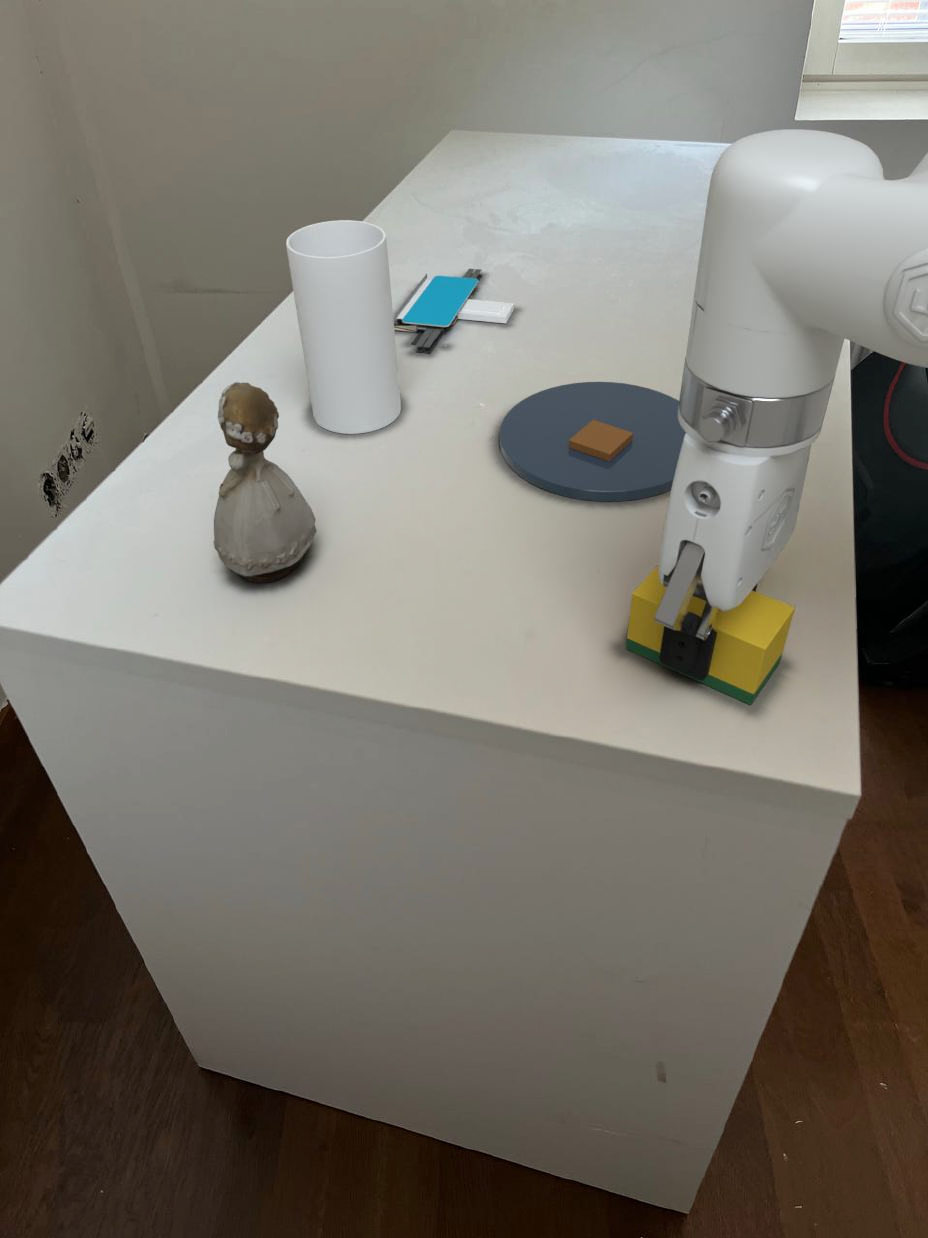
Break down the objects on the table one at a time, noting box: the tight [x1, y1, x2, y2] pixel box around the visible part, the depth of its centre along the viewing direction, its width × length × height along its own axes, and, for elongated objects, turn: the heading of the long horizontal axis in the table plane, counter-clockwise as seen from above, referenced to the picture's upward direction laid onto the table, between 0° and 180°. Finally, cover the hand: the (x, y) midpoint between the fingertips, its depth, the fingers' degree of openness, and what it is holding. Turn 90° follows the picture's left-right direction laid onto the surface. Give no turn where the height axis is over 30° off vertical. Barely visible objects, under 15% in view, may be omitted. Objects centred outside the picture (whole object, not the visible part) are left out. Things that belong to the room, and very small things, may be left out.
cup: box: [285, 219, 402, 435], centre depth 82 cm, size 8×8×16 cm
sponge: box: [625, 564, 796, 706], centre depth 61 cm, size 5×9×5 cm, turn 54°
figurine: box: [213, 381, 318, 584], centre depth 66 cm, size 8×7×15 cm
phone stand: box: [393, 268, 515, 354], centre depth 102 cm, size 20×12×2 cm, turn 164°
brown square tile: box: [569, 420, 633, 462], centre depth 80 cm, size 4×4×1 cm
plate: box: [499, 381, 686, 502], centre depth 82 cm, size 18×18×1 cm
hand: (704, 640), depth 62 cm, fingers open, 5 cm apart
